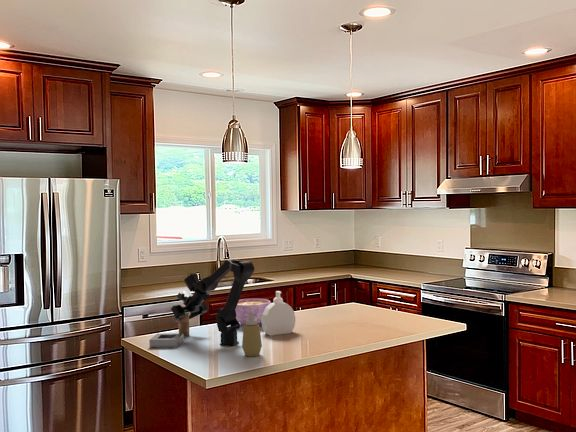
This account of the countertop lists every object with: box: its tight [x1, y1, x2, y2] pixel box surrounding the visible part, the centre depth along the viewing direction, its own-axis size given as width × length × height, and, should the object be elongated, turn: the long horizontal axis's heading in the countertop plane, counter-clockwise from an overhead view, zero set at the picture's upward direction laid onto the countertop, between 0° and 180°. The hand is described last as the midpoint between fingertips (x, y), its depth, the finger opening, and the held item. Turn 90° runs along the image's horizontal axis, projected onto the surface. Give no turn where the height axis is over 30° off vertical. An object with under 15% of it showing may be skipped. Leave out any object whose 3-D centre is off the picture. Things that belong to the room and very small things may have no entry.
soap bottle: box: [260, 290, 296, 337], centre depth 277 cm, size 16×5×20 cm, turn 119°
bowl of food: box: [235, 298, 271, 326], centre depth 299 cm, size 20×20×12 cm
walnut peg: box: [177, 304, 190, 337], centre depth 277 cm, size 5×5×14 cm
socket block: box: [148, 332, 185, 349], centre depth 260 cm, size 12×12×4 cm
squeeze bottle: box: [241, 311, 263, 358], centre depth 239 cm, size 8×8×18 cm
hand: (181, 320), depth 278 cm, fingers open, 9 cm apart
